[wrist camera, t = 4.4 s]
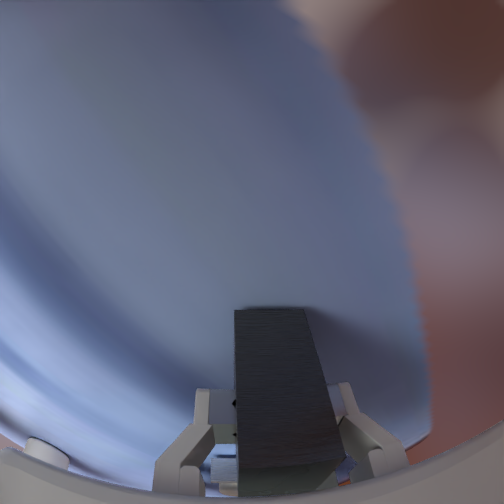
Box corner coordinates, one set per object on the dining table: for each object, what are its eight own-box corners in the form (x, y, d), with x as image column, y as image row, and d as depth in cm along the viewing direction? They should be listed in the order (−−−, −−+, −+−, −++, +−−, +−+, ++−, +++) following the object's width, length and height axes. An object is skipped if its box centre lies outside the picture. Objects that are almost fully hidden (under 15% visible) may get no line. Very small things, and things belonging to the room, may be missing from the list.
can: (69, 463, 25) (55, 528, 15) (30, 443, 23) (11, 507, 13) (71, 454, 23) (55, 530, 12) (26, 430, 21) (4, 504, 10)
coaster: (226, 466, 23) (227, 482, 21) (281, 467, 24) (284, 482, 22) (213, 481, 25) (213, 495, 23) (261, 483, 26) (263, 496, 24)
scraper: (187, 308, 12) (164, 464, 6) (345, 307, 13) (404, 442, 6) (211, 460, 20) (211, 527, 14) (289, 457, 21) (299, 523, 15)
